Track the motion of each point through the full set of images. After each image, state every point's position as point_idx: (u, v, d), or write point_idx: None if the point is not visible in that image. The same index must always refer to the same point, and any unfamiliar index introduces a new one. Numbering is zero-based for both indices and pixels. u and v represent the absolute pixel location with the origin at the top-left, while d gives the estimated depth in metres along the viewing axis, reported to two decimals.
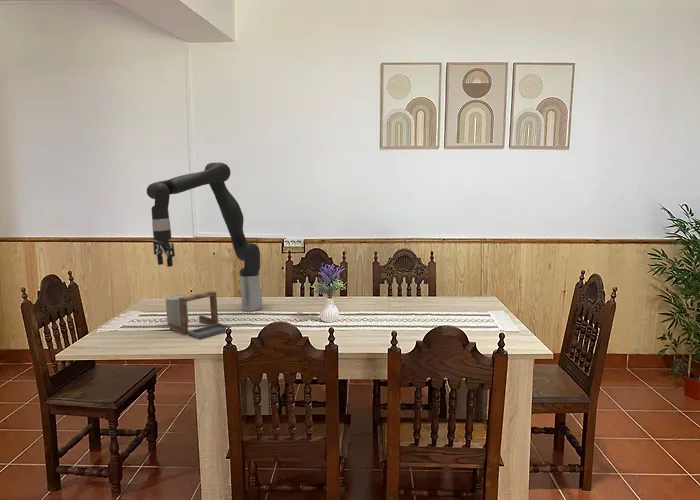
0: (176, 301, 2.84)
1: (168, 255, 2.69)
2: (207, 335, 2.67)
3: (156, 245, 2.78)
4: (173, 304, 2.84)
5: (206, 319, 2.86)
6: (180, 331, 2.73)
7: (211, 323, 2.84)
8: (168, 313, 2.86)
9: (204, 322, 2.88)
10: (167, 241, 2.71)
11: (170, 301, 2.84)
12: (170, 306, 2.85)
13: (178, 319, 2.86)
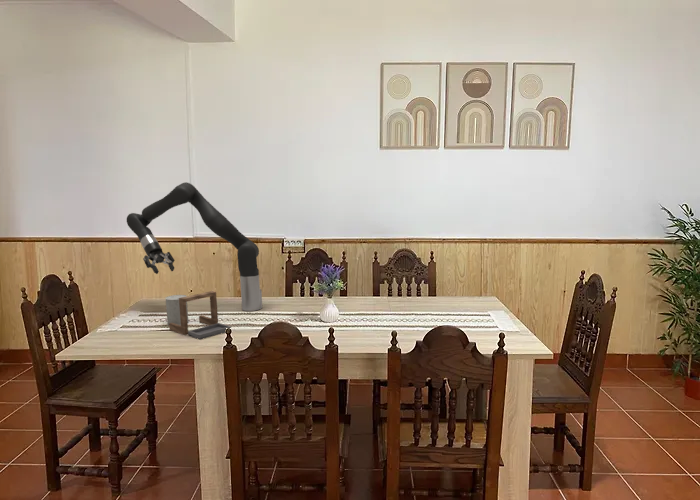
0: (176, 301, 2.84)
1: None
2: (207, 335, 2.67)
3: (167, 257, 3.12)
4: (173, 304, 2.84)
5: (206, 319, 2.86)
6: (180, 331, 2.73)
7: (211, 323, 2.84)
8: (168, 313, 2.86)
9: (204, 322, 2.88)
10: (148, 254, 3.05)
11: (170, 301, 2.84)
12: (170, 306, 2.85)
13: (178, 319, 2.86)
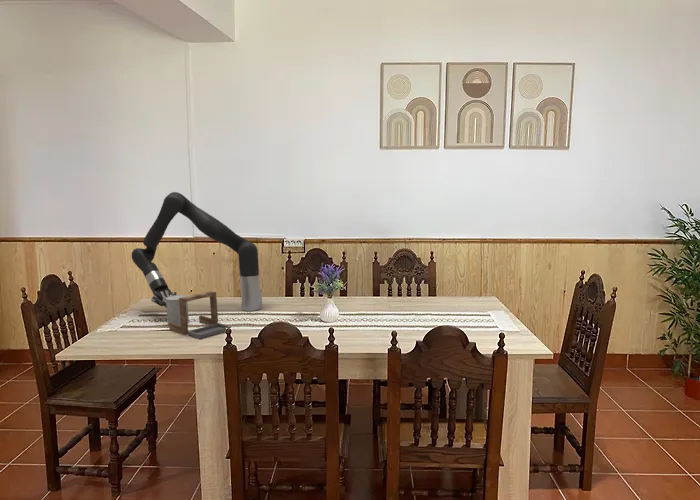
0: (176, 301, 2.84)
1: None
2: (207, 335, 2.67)
3: None
4: (173, 304, 2.84)
5: (206, 319, 2.86)
6: (180, 331, 2.73)
7: (211, 323, 2.84)
8: (168, 313, 2.86)
9: (204, 322, 2.88)
10: (154, 292, 2.95)
11: (170, 301, 2.84)
12: (170, 306, 2.85)
13: (178, 319, 2.86)
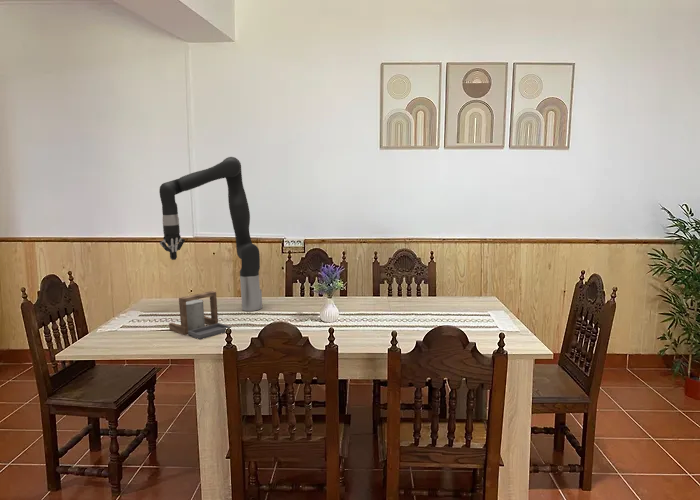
0: (192, 306, 2.74)
1: None
2: (207, 335, 2.67)
3: None
4: (189, 309, 2.75)
5: (206, 319, 2.86)
6: (180, 331, 2.73)
7: (211, 323, 2.84)
8: None
9: None
10: (165, 235, 2.98)
11: (186, 306, 2.75)
12: None
13: (194, 325, 2.76)
